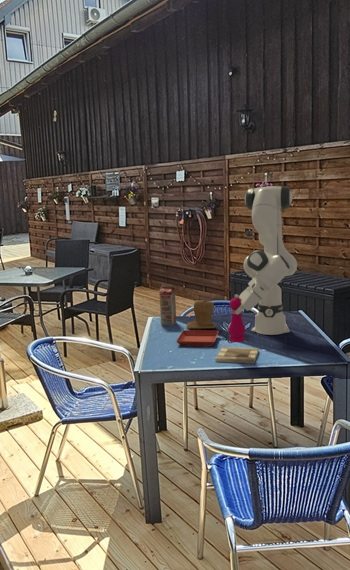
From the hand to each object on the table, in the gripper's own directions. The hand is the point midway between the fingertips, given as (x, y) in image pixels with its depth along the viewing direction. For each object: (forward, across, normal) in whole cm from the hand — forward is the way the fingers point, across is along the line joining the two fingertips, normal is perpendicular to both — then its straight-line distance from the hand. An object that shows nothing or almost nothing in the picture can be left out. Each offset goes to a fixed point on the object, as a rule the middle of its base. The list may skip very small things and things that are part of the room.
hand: (235, 311), depth 216 cm
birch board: (+14, 0, +14) cm, 20 cm away
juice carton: (+37, -60, -9) cm, 71 cm away
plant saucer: (+26, -25, +3) cm, 36 cm away
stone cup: (+24, -49, +3) cm, 55 cm away
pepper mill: (+9, 0, +9) cm, 13 cm away
